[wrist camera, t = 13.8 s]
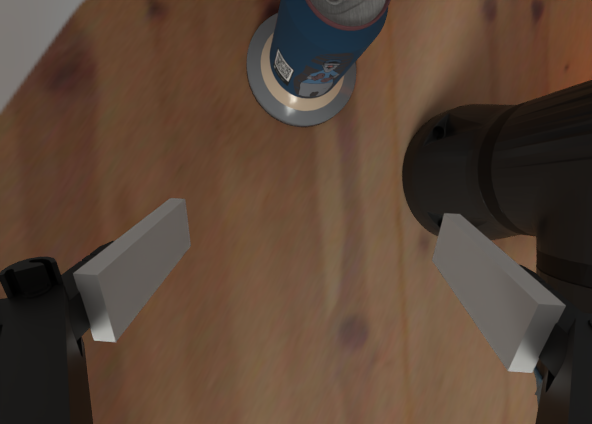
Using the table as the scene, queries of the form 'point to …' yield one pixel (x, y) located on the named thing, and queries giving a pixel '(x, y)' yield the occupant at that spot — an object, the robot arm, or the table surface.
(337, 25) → the soda can
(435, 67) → the table surface
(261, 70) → the coaster
